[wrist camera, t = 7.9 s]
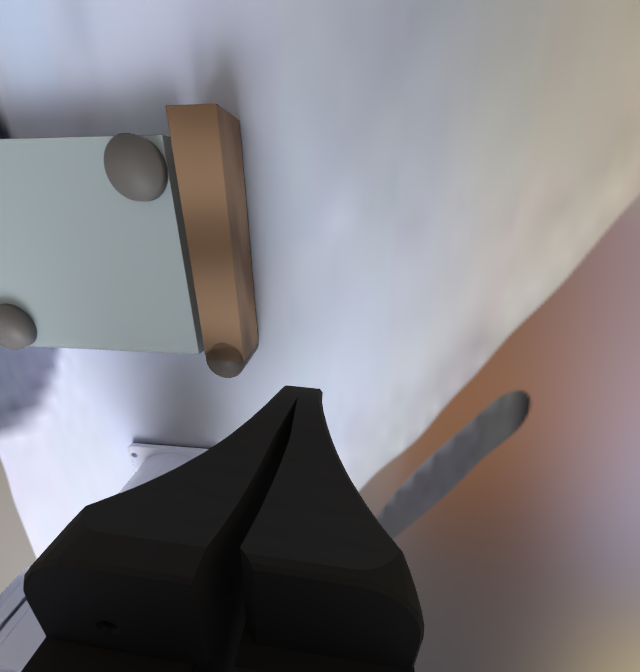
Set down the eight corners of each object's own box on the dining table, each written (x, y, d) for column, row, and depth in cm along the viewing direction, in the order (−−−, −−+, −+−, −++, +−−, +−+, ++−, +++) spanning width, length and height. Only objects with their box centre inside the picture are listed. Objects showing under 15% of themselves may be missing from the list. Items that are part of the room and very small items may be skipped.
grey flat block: (215, 338, 22) (194, 358, 19) (38, 331, 24) (-6, 348, 21) (187, 143, 18) (154, 132, 15) (-32, 149, 19) (-99, 139, 16)
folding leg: (259, 357, 22) (245, 378, 20) (226, 355, 23) (208, 376, 20) (239, 120, 17) (215, 103, 14) (196, 121, 17) (165, 105, 14)
